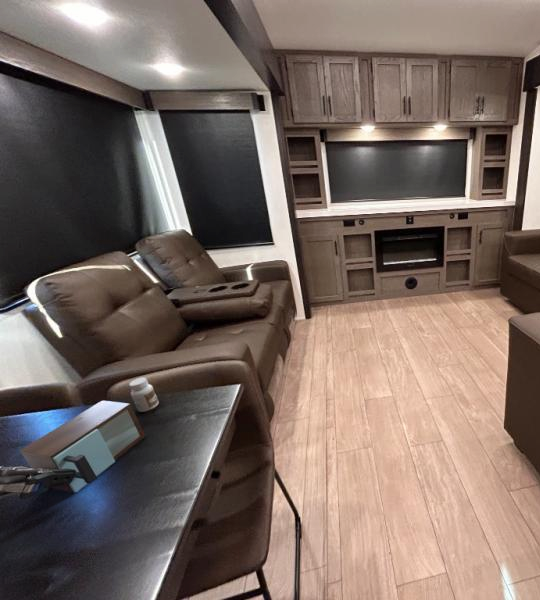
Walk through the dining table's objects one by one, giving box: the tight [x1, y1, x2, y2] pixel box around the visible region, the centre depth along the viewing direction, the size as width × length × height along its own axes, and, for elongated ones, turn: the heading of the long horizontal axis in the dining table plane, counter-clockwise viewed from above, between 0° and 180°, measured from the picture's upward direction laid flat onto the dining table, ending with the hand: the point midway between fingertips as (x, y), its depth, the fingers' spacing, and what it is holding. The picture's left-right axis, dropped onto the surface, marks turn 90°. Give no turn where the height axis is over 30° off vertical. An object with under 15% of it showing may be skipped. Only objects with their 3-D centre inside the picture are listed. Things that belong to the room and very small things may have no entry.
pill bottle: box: [128, 377, 160, 413], centre depth 80 cm, size 4×4×8 cm
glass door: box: [53, 429, 116, 493], centre depth 60 cm, size 5×7×8 cm
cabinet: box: [19, 400, 146, 494], centre depth 64 cm, size 8×14×9 cm, turn 166°
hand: (70, 476), depth 55 cm, fingers closed
